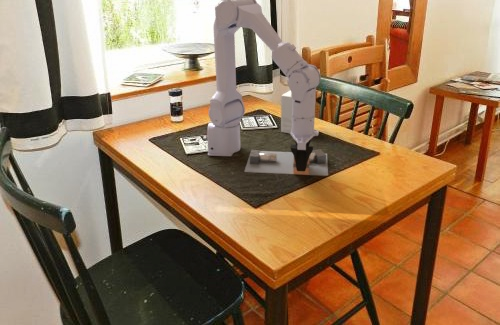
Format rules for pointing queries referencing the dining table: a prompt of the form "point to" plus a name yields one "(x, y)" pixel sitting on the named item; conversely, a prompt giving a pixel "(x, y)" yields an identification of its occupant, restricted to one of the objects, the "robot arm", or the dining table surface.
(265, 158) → the input shaft
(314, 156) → the output shaft
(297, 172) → the taped shipping carton
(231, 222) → the dining table surface
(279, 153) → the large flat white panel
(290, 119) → the supplement box
